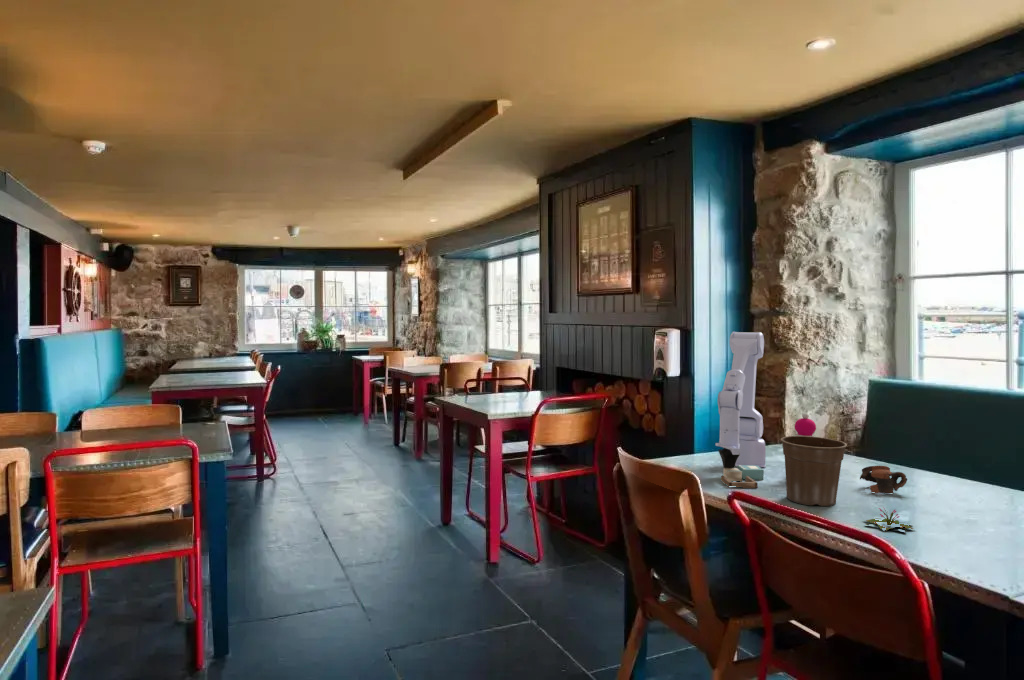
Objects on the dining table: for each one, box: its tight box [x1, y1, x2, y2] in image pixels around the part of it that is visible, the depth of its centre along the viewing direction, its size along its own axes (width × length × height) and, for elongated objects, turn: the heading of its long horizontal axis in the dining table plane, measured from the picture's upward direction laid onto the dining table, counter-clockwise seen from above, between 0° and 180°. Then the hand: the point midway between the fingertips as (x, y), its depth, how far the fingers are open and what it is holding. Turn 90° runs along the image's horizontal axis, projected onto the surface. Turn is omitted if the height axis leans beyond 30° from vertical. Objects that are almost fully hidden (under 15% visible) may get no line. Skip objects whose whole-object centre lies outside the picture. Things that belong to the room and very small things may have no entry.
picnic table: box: [720, 475, 759, 489], centre depth 202 cm, size 8×8×2 cm
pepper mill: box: [794, 412, 817, 437], centre depth 210 cm, size 7×7×20 cm
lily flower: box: [865, 507, 914, 531], centre depth 163 cm, size 12×12×5 cm
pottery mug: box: [859, 465, 908, 494], centre depth 196 cm, size 12×10×8 cm
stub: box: [722, 467, 743, 482], centre depth 208 cm, size 4×5×3 cm
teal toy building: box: [736, 465, 765, 481], centre depth 211 cm, size 6×6×3 cm
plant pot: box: [780, 435, 848, 507], centre depth 185 cm, size 16×16×16 cm
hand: (728, 473), depth 212 cm, fingers closed
